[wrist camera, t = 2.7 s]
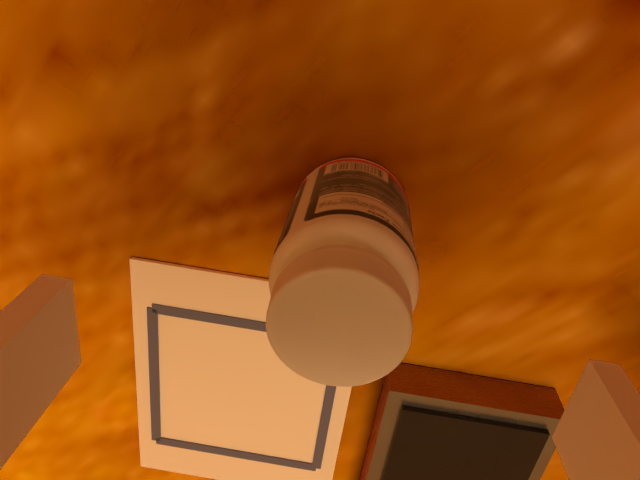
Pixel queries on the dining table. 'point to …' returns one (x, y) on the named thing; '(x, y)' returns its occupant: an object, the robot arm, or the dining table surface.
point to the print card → (223, 382)
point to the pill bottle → (344, 276)
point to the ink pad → (460, 427)
